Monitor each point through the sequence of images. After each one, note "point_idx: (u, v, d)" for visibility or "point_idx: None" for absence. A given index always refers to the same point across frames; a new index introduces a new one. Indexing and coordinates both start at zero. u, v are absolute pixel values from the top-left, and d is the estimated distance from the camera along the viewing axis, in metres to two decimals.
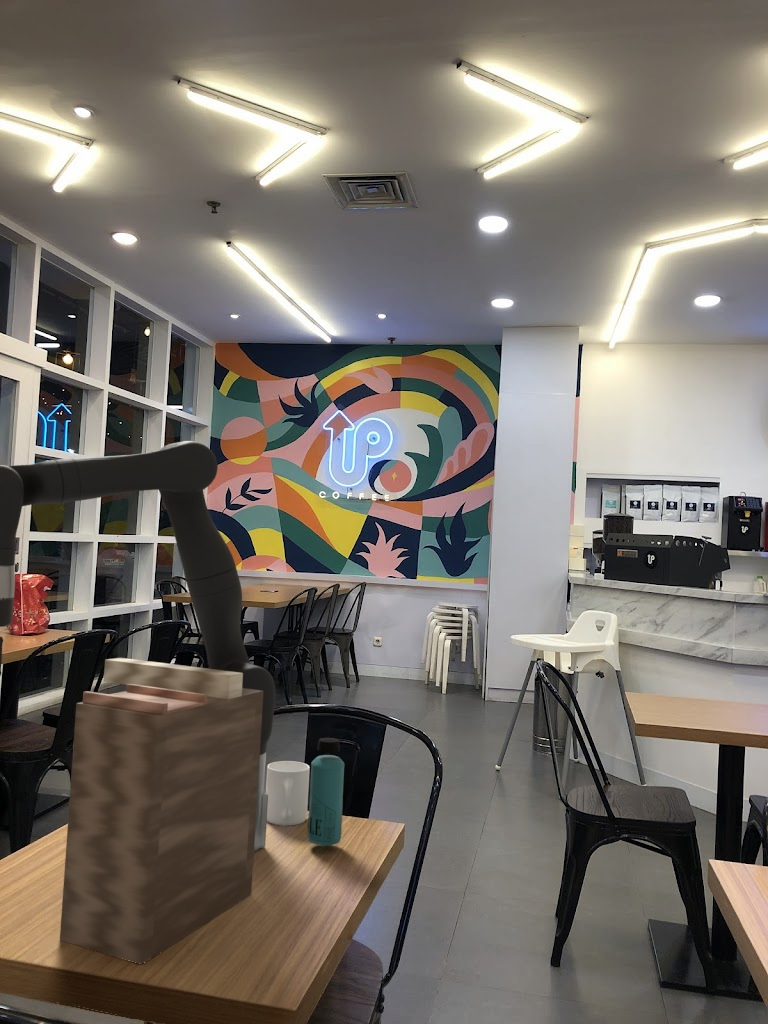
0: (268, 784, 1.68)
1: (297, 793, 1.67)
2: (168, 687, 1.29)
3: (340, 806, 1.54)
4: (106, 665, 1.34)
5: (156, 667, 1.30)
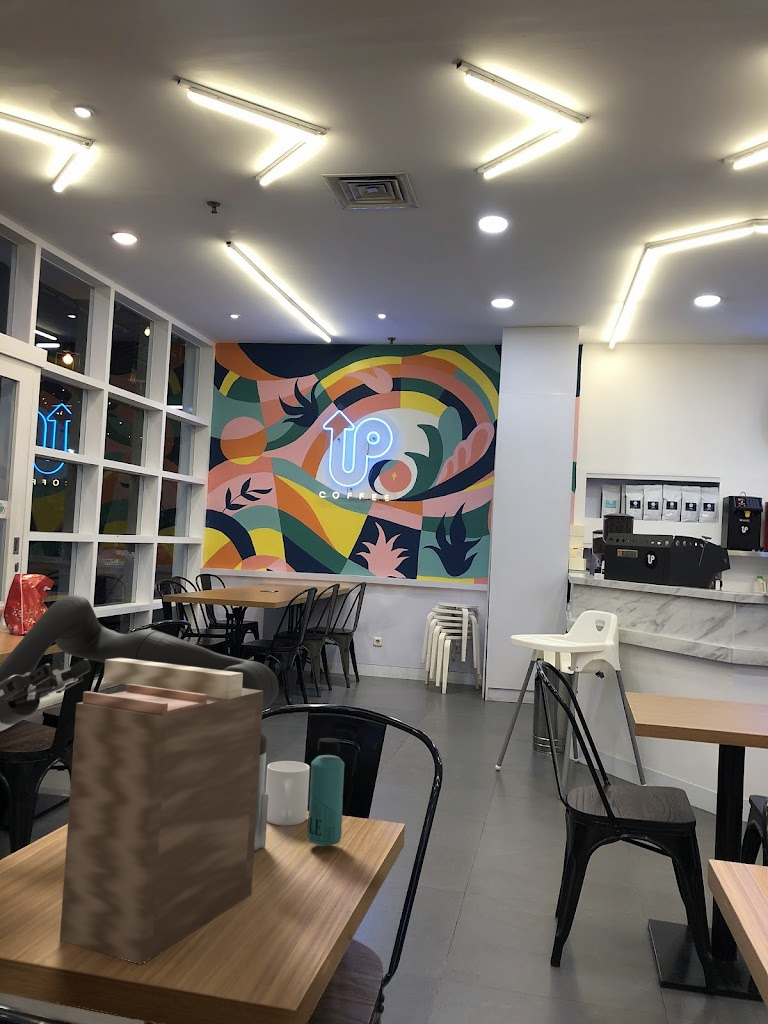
0: (268, 784, 1.68)
1: (297, 793, 1.67)
2: (168, 687, 1.29)
3: (340, 806, 1.54)
4: (106, 665, 1.34)
5: (156, 667, 1.30)
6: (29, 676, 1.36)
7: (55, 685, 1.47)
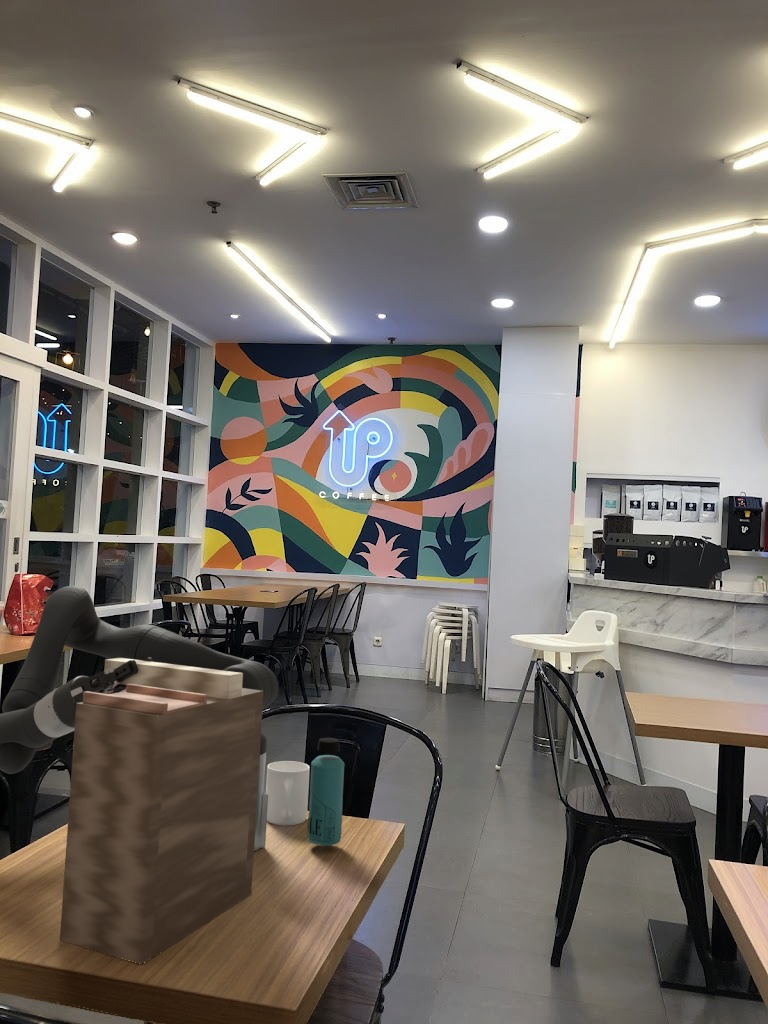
0: (268, 784, 1.68)
1: (297, 793, 1.67)
2: (168, 687, 1.29)
3: (340, 806, 1.54)
4: (106, 665, 1.34)
5: (156, 667, 1.30)
6: (114, 673, 1.32)
7: (122, 685, 1.41)
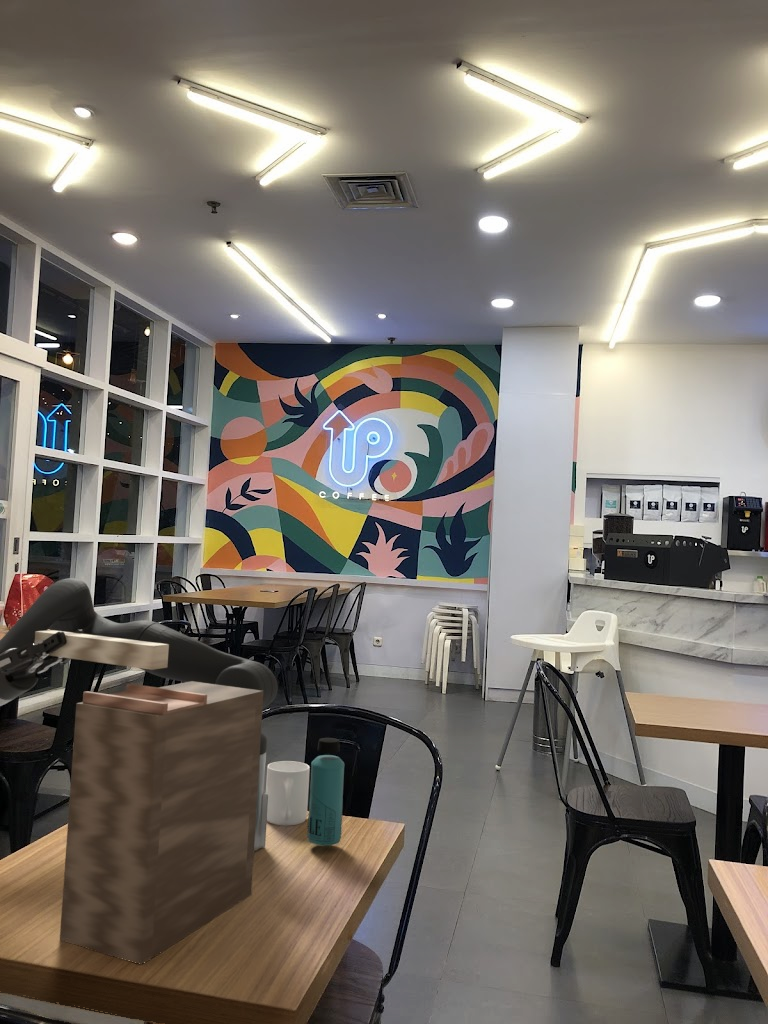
0: (268, 784, 1.68)
1: (297, 793, 1.67)
2: (95, 658, 1.29)
3: (340, 806, 1.54)
4: (36, 637, 1.34)
5: (83, 638, 1.30)
6: (42, 644, 1.32)
7: None
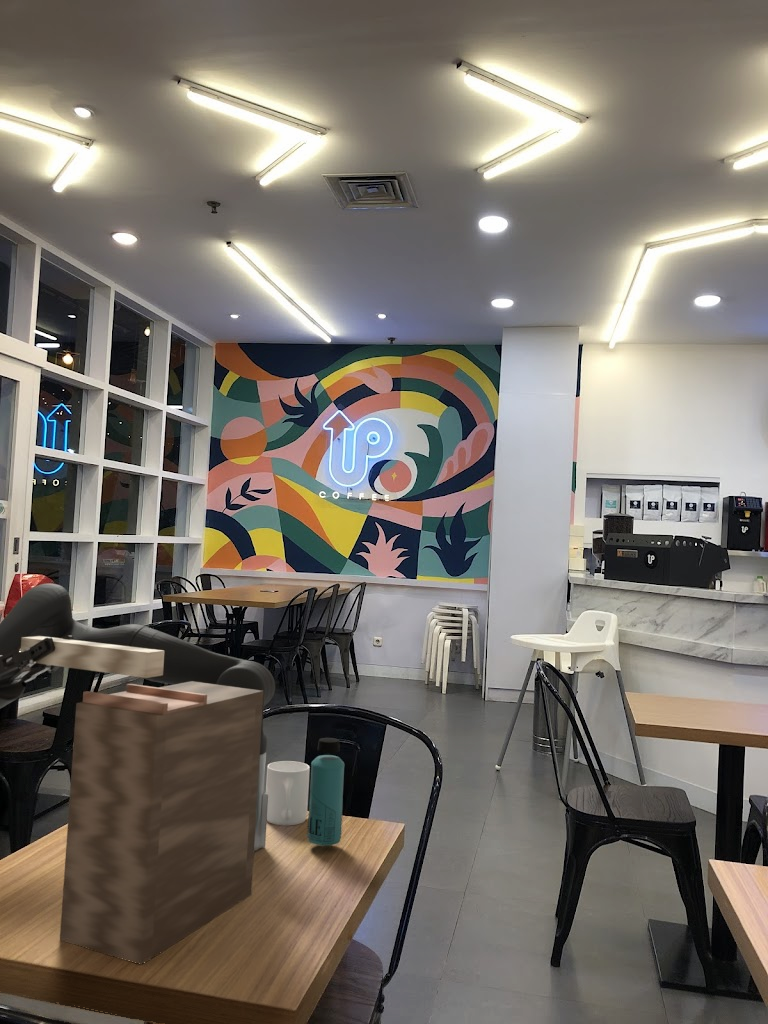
0: (268, 784, 1.68)
1: (297, 793, 1.67)
2: (85, 666, 1.21)
3: (340, 806, 1.54)
4: (22, 643, 1.26)
5: (73, 645, 1.22)
6: (29, 651, 1.24)
7: None
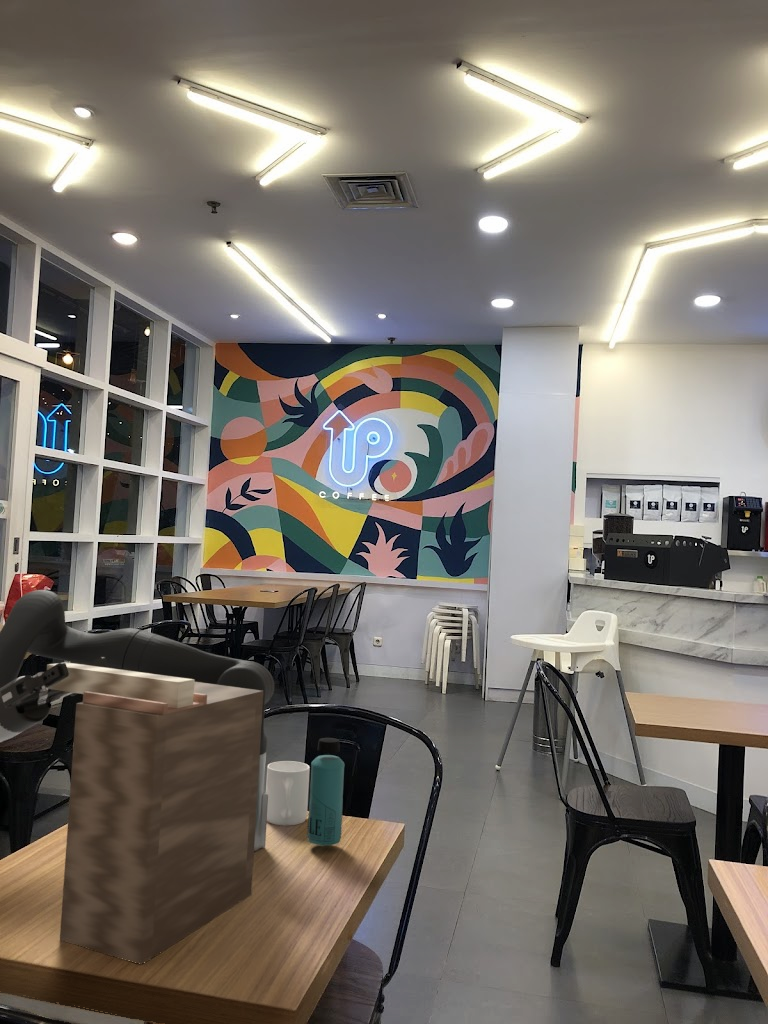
0: (268, 784, 1.68)
1: (297, 793, 1.67)
2: None
3: (340, 806, 1.54)
4: None
5: (101, 673, 1.19)
6: (41, 676, 1.20)
7: None
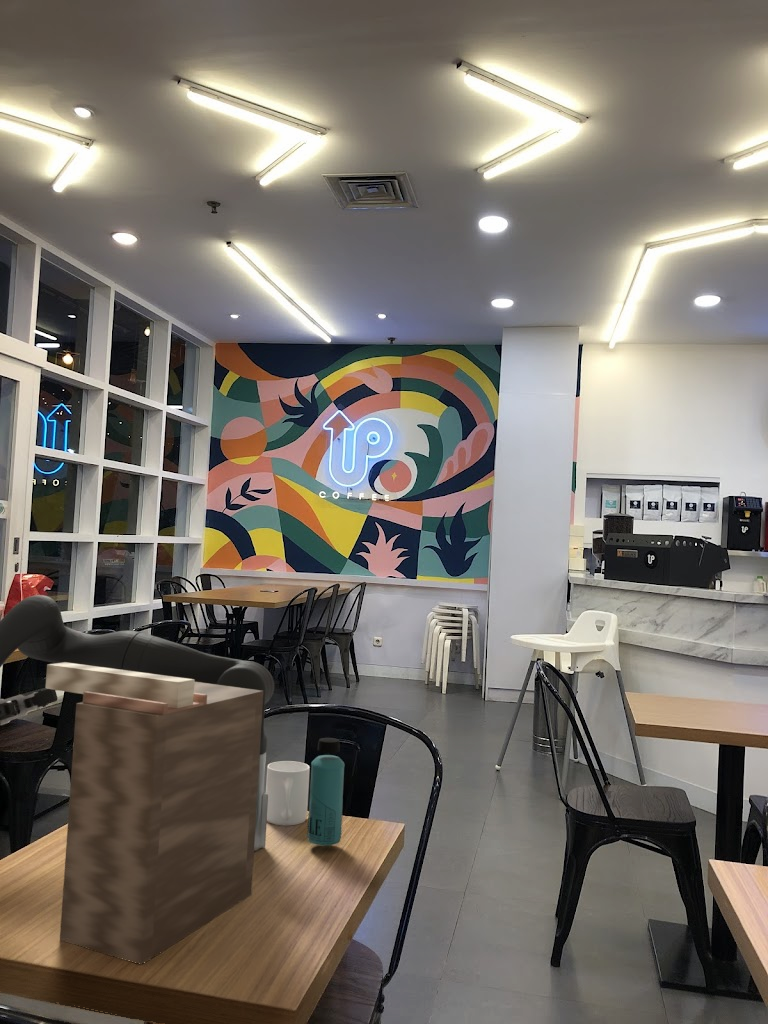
0: (268, 784, 1.68)
1: (297, 793, 1.67)
2: None
3: (340, 806, 1.54)
4: (48, 670, 1.24)
5: (101, 673, 1.19)
6: None
7: (16, 708, 1.34)
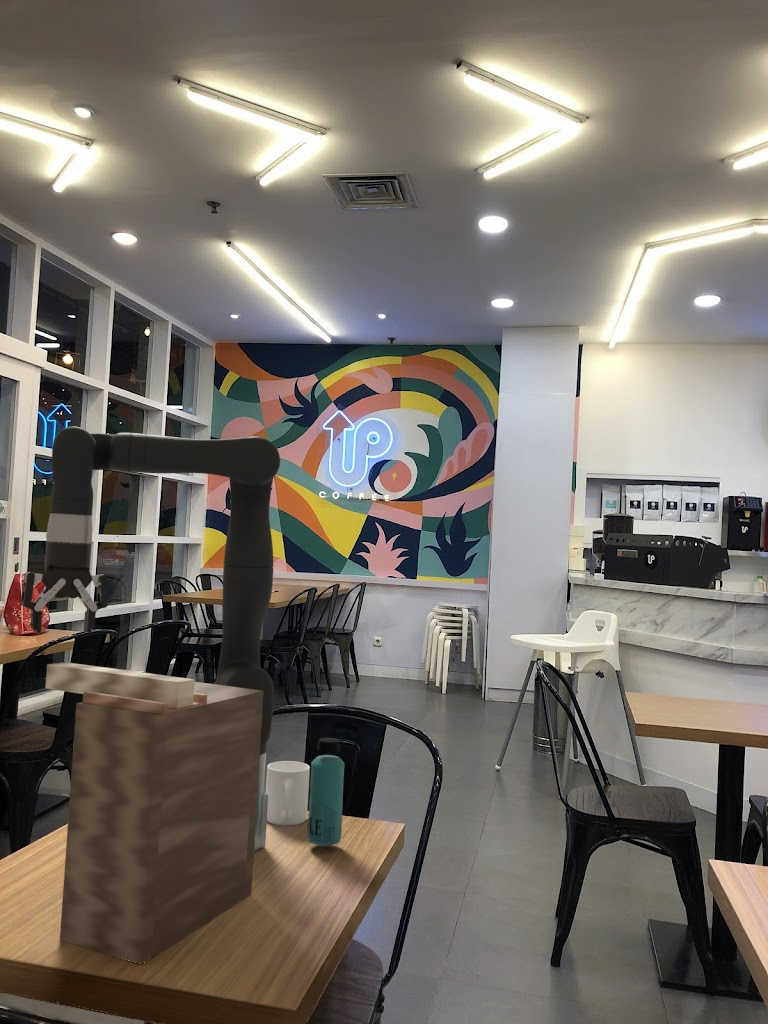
0: (268, 784, 1.68)
1: (297, 793, 1.67)
2: None
3: (340, 806, 1.54)
4: (48, 670, 1.24)
5: (101, 673, 1.19)
6: (32, 612, 1.44)
7: (93, 582, 1.50)
